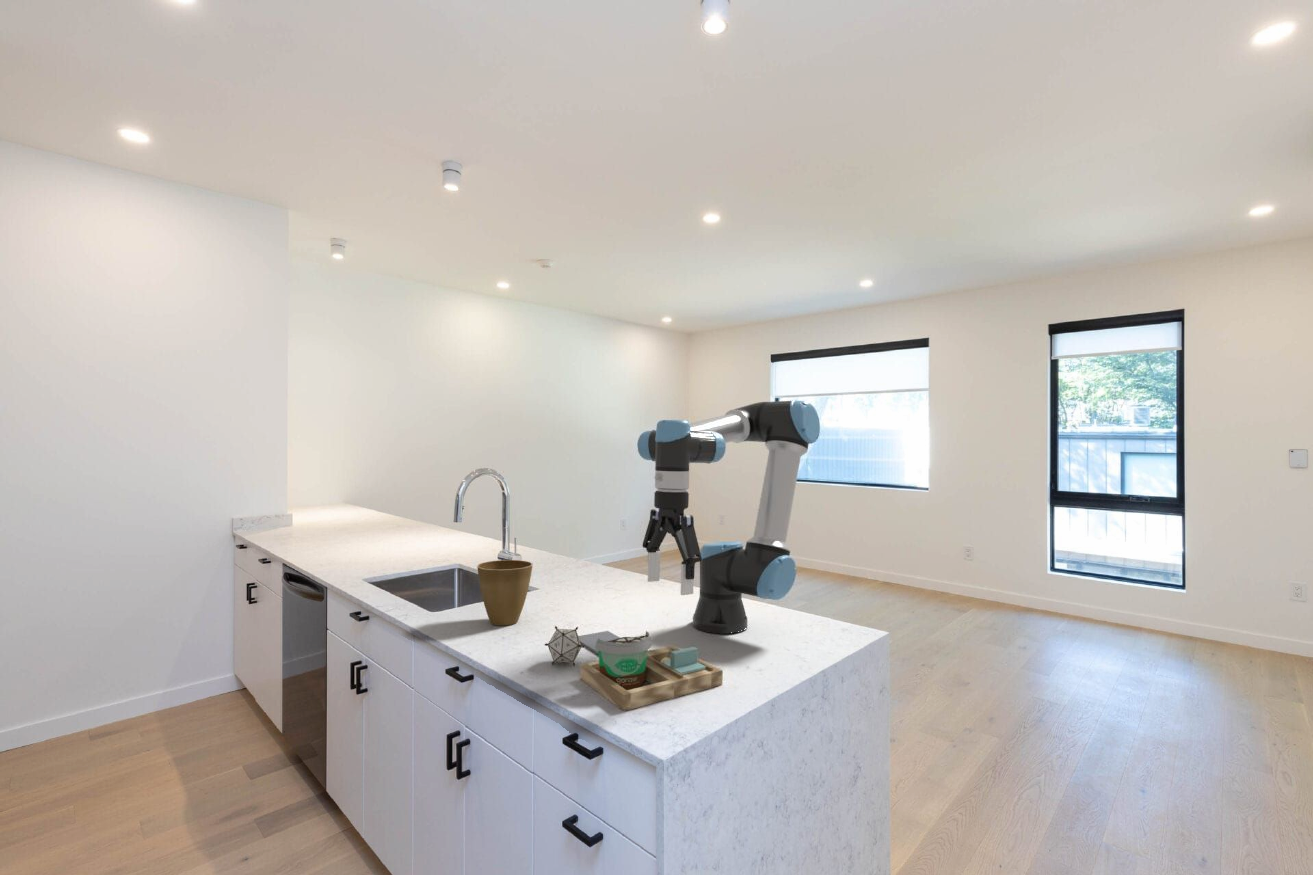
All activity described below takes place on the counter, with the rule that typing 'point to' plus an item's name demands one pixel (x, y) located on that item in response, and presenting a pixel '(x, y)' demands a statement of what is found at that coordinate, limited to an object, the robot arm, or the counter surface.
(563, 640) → the game die
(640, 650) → the food container
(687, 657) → the cover
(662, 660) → the ball
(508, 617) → the plant pot
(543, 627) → the counter surface
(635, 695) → the wooden compartment tray
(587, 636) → the mat
